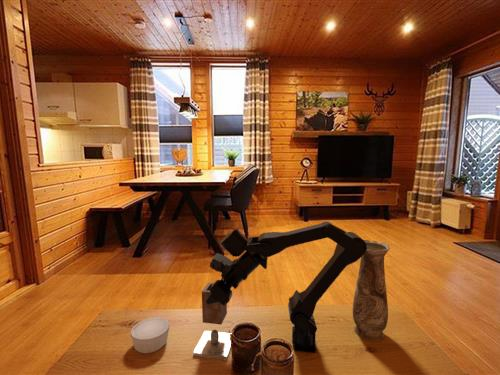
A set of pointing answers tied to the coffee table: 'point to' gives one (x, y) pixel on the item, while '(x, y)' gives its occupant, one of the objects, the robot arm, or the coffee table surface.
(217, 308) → the square pencil cup
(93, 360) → the coffee table surface
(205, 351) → the glossy square coaster
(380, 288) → the vase
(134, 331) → the ramekin
